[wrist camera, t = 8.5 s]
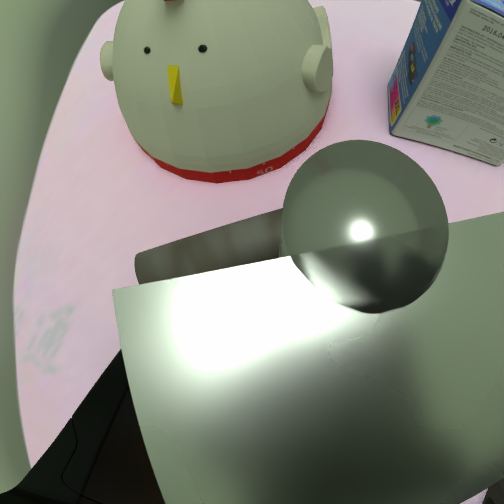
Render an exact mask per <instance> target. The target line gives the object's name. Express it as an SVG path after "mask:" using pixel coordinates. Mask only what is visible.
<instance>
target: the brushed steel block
mask: <svg viewBox="0 0 504 504" xmlns="http://www.w3.org/2000/svg"><path fill="white" fill-rule="evenodd" d="M112 292H113V300H114V307H115V314H116V320H117V326H118V332H119V338H120V344H121V349H122V354H123V359H124V364H125V369H126V374H127V378H128V383H129V387H130V391H131V395H132V399H133V403H134V407H135V411H136V415H137V419H138V422H139V426H140V429H141V433H142V436H143V440H144V443H145V446H146V449H147V453H148V456H149V459H150V462H151V465H152V468H153V471H154V474H155V477H156V479H157V482H158V485H159V488H160V490H161V493H162V496H163V498H164V501H165V503H166V504H460V503H462V502H464V501H465V500H467V499H469V498H471V497H473V496H475V495H476V494H478V493H480V492H482V491H483V490H485V489H487V488H488V487H490V486H492V485H493V484H495V483H497V482H498V481H500V480H501V479H503V478H504V212H500V213H496V214H491V215H487V216H482V217H477V218H473V219H468V220H463V221H459V222H454V223H449V224H448V218H447V214H446V210H445V206H444V203H443V201H442V198H441V196H440V194H439V192H438V190H437V188H436V186H435V184H434V183H433V181H432V180H431V178H430V177H429V176H428V175H427V173H426V172H425V171H424V170H423V169H422V168H421V167H420V166H419V165H418V164H417V163H416V162H415V161H414V160H412V159H411V158H410V157H409V156H407V155H405V154H404V153H402V152H401V151H399V150H397V149H395V148H393V147H390V146H388V145H385V144H382V143H378V142H373V141H367V140H349V141H344V142H338V143H335V144H332V145H329V146H327V147H325V148H323V149H321V150H319V151H318V152H316V153H315V154H314V155H312V156H311V157H310V158H309V159H307V160H306V161H305V162H304V163H303V164H302V166H301V167H300V168H299V169H298V170H297V172H296V173H295V175H294V177H293V178H292V180H291V182H290V185H289V187H288V189H287V192H286V196H285V199H284V204H283V212H282V224H281V237H280V249H279V258H278V259H273V260H267V261H262V262H257V263H252V264H247V265H242V266H236V267H231V268H226V269H221V270H216V271H210V272H205V273H200V274H194V275H189V276H184V277H178V278H173V279H168V280H162V281H157V282H152V283H146V284H141V285H135V286H130V287H124V288H119V289H113V290H112Z"/></svg>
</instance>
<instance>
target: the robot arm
mask: <svg viewBox="0 0 504 504" xmlns="http://www.w3.org/2000/svg"><path fill="white" fill-rule="evenodd" d="M0 504H166V503H165V501H164V498H163V496H162V493H161V490H160V488H159V485H158V482H157V479H156V477H155V474H154V471H153V468H152V465H151V462H150V459H149V456H148V453H147V449H146V446H145V443H144V440H143V436H142V433H141V429H140V426H139V422H138V419H137V415H136V411H135V407H134V403H133V399H132V395H131V391H130V387H129V383H128V378H127V374H126V369H125V364H124V359H123V354H122V349H120V351H119V352H118V353H117V355H116V356H115V357H114V359H113V360H112V361H111V363H110V364H109V365H108V367H107V368H106V369H105V371H104V372H103V374H102V375H101V376H100V378H99V379H98V380H97V382H96V383H95V384H94V386H93V387H92V389H91V390H90V391H89V393H88V394H87V396H86V397H85V398H84V400H83V401H82V403H81V404H80V405H79V407H78V408H77V410H76V411H75V412H74V414H73V415H72V418H70V419H69V421H68V422H67V424H66V425H65V427H64V428H63V429H62V431H61V432H60V434H59V435H58V436H57V438H56V439H55V440H54V442H53V443H52V444H51V446H50V447H49V448H48V449H47V451H46V452H45V453H44V454H43V456H42V457H41V458H40V459H39V460H38V462H37V463H36V464H35V465H34V466H33V468H32V469H31V470H30V471H29V473H28V474H27V475H26V476H25V478H24V479H23V480H22V481H21V482H20V483H19V484H18V485H17V486H16V487H14V488H13V489H11V490H9V491H7V492H4V493H1V494H0Z"/></svg>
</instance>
